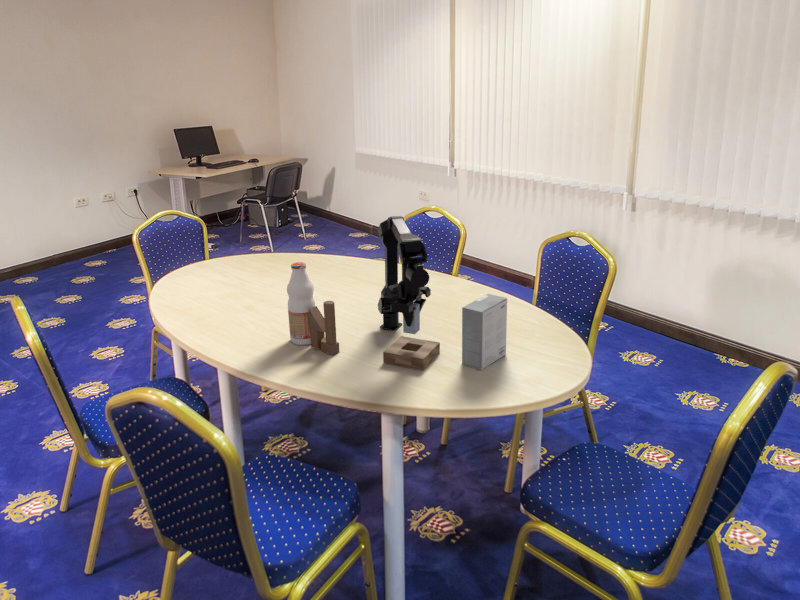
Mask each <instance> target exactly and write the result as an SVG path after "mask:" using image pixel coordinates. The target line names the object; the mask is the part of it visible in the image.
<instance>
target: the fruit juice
mask: <svg viewBox="0 0 800 600" xmlns="http://www.w3.org/2000/svg"><path fill="white" fill-rule="evenodd" d="M290 267H291V271H292V272H291V273H290V274H291V275H290V279H289V282H288V284H287V285H286V292H287V295H288V300H287V313H288V326H289V327H288V329H289V338H290V341H291V343H292V344H294V345H297V346H306V345H308V346H309V345H311V336H310V323H309V308H312V307H315V306H316V300H315V298H314V289H315V287H314V283H312V281H311V279H310V277H309V275H308V273H307V271H306V268H307V264H306V263H305V262H303V261H302V262H301V261H300V262H299V261H298V262H292V263H291V264H290Z"/></svg>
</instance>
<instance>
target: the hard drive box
mask: <svg viewBox="0 0 800 600" xmlns="http://www.w3.org/2000/svg"><path fill="white" fill-rule="evenodd" d="M461 316H462V317H461V364H462V365H461V366H465V367H468V368H471V369H474V370H475V369H476V370H478V371H482V370H484V369H486V368H487V367H488V366H490V365H492V364H493V363H495V362H496V361H497V360H499V359H502V357H504V356H505V355H507V326H508V325H507V324H508V323H507V322H508V321H507V320H508V318H507V317H508V298H507V297H504V296H500V295H497V294H496V295H495V294H491V293H486V294H484V295H482V296H481V297H479V298H477V299H475V300H474V301H472V302H470V303H468V304H466V305H464V306H462V307H461Z"/></svg>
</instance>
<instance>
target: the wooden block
mask: <svg viewBox="0 0 800 600" xmlns="http://www.w3.org/2000/svg"><path fill="white" fill-rule="evenodd" d="M322 306H323V314H322V312H321V311H320V309H319V307H318V306H317V305H315V307H312V308H309V323H310V336H311V344H310V346H311V348H313V349H316V350H320V349H321V350H320V351H321V352H323V353H326V354H329V355H331V356H333V355H335V354H338V353H340V342H338V341H337V328H336V327H337V325H336V324H337V323H336V309H335V302H334V300H326V301H325V300H324V301H323V305H322Z"/></svg>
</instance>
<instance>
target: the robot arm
mask: <svg viewBox="0 0 800 600" xmlns="http://www.w3.org/2000/svg"><path fill="white" fill-rule="evenodd" d="M377 231H378V237H379V240H380V241H381V243H382V244H383V246H384V286H383V288H382V289H381V291H380V297H379V300H378V303H377V309H378V312H379V313H380V315H382V321H383V322H382V324H381V325H380V326H379V329H383V330H390V331H396V330H398V329H400V328H401V327H402V326H403V322H399V321H400V319H399V318H400V317H399V315H400V314H399V313H401V314H402V316H404V319H405V322H406V325H407V326H409V327H410V326H411V324H412V321H413V318H414V315H415V312H416V308H415V307H413V304H414V303H417V304H420V312H421V311H422V309H423V307H424V305H425V303H426V302H427V298H429V297H430V296H431V294H432V293H431V291H432V289H431V288H430V287H429V286H427V285H428V283H429V281H430V274H429V272H428V271H427V270H426V269H425V268H424V265H423V264H424V263H428V260H427V259H428V254H427V250H426V246H425V244H424V241H423V240H422V239H421V237H419V236H418V235H417V234H413V233H412V232H411V231H410V229H409V228H408V225H407V224H406V222H405V218H404V216H401V215H397V216H396V215H394V216H390V217H387V218H386V220H384V221H382V222H380V223H379V225H378V229H377ZM398 260H400V263H401V280H400V281H399V270H398V269H399V268H398V267H399V261H398ZM423 295H424V296H425V298H423Z"/></svg>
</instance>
